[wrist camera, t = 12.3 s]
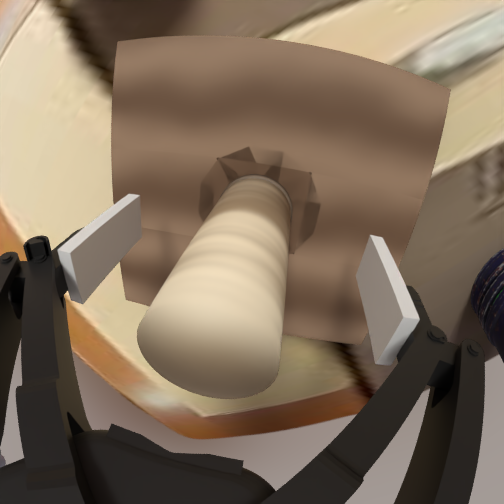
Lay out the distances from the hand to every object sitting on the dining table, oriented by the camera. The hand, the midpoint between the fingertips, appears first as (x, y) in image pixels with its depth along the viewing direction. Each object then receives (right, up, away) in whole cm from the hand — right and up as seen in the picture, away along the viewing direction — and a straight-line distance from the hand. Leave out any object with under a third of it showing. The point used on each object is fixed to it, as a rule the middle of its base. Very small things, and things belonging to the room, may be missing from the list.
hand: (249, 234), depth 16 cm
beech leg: (+1, +4, +6) cm, 7 cm away
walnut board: (+1, +4, +7) cm, 8 cm away
